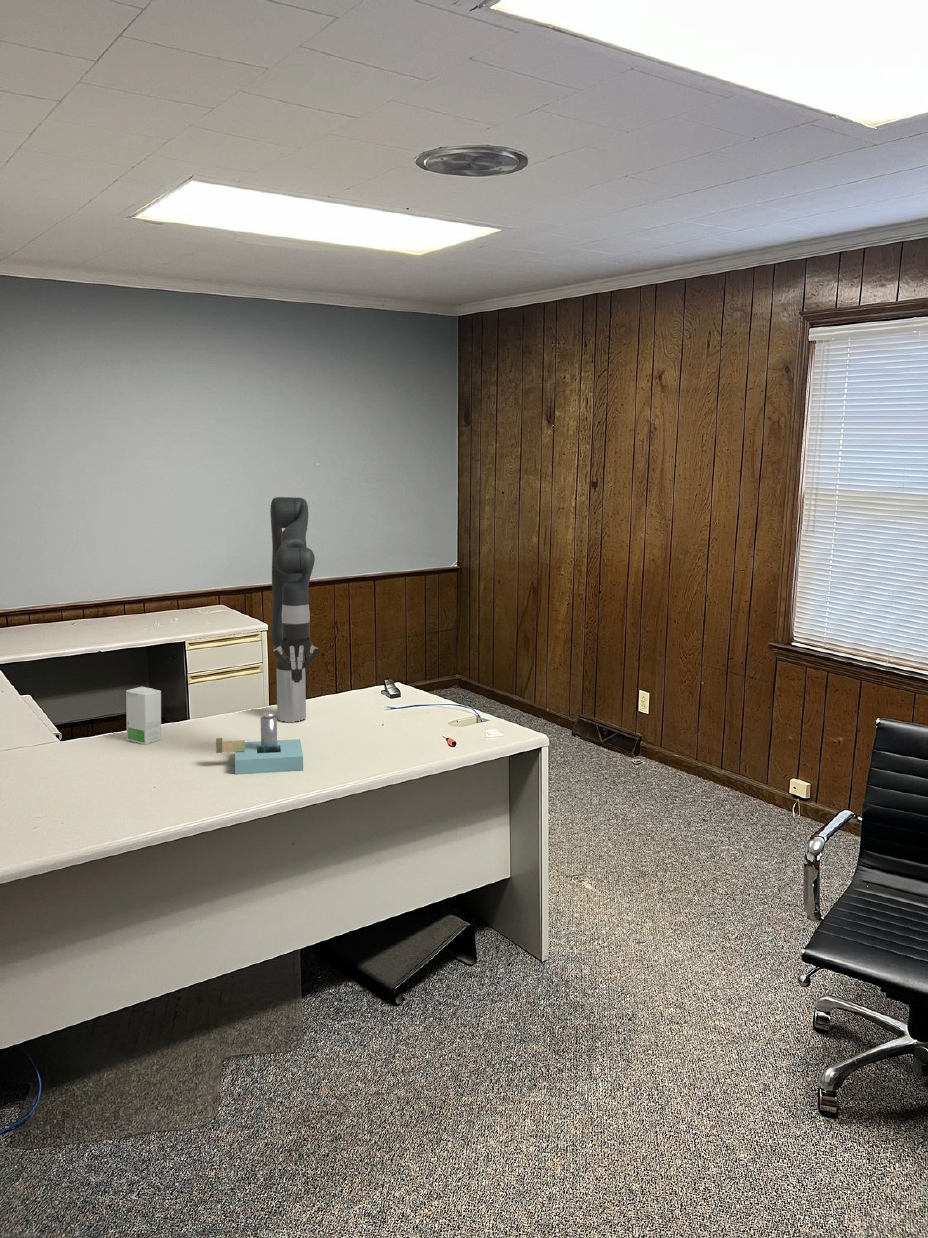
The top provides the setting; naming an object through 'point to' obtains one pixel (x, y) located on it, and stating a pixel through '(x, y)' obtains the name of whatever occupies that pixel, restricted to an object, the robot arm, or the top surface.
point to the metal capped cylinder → (268, 733)
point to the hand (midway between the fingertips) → (296, 681)
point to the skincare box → (143, 715)
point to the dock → (269, 758)
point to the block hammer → (229, 746)
